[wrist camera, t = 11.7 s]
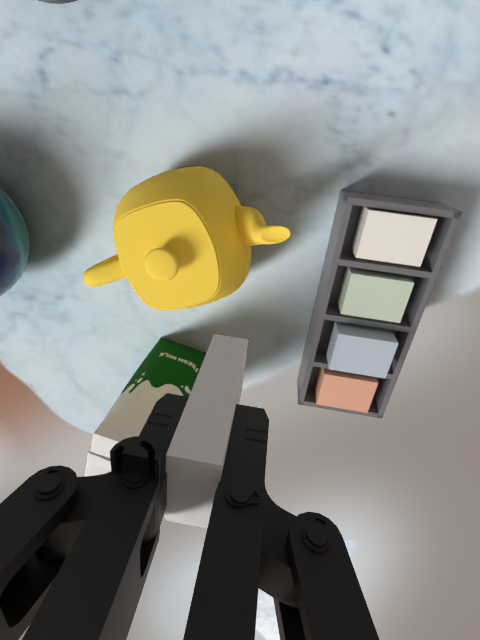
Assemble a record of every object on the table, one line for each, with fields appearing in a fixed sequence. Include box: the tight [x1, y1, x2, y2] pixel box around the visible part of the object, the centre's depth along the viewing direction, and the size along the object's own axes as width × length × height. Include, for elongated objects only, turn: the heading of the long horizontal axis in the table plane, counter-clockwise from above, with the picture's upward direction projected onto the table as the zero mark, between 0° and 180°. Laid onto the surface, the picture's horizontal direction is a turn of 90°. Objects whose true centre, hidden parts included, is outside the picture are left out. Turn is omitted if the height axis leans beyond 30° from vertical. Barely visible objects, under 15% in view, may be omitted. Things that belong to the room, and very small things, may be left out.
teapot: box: [83, 166, 291, 310], centre depth 34 cm, size 13×20×12 cm
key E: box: [315, 367, 378, 413], centre depth 42 cm, size 4×6×3 cm
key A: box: [351, 206, 438, 267], centre depth 34 cm, size 4×6×3 cm
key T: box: [337, 267, 414, 323], centre depth 36 cm, size 4×6×3 cm
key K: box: [326, 321, 399, 379], centre depth 38 cm, size 4×6×3 cm
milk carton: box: [84, 337, 206, 477], centre depth 40 cm, size 9×9×20 cm
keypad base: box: [297, 190, 462, 418], centre depth 39 cm, size 24×10×5 cm, turn 174°
